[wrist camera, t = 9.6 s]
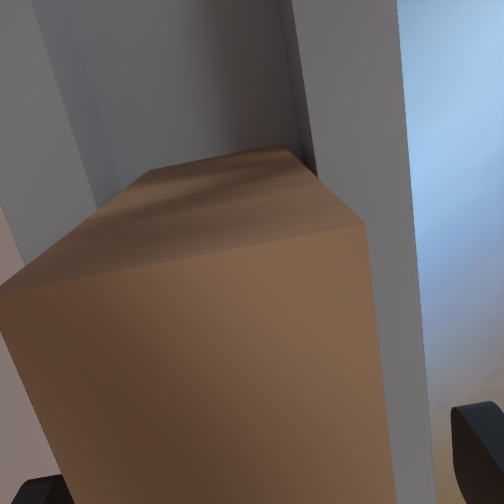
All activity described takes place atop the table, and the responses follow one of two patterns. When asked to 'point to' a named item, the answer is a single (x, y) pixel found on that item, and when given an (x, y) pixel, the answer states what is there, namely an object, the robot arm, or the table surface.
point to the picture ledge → (223, 135)
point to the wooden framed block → (208, 342)
